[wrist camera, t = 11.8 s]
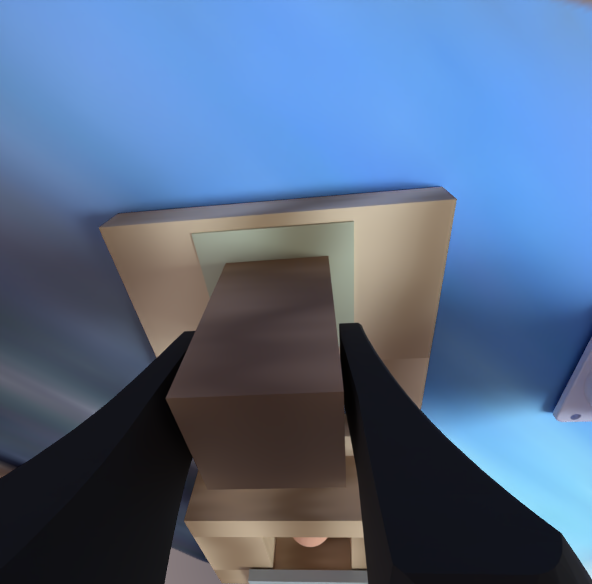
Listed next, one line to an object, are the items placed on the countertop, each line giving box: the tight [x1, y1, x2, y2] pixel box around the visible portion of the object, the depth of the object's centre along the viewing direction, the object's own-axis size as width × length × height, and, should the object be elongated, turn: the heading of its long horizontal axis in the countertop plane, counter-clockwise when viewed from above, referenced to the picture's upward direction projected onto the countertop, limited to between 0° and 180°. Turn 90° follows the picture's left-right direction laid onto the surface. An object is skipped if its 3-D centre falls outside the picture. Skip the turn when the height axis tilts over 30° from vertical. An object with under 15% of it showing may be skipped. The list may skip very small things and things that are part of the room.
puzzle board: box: [99, 187, 457, 584], centre depth 18 cm, size 13×25×5 cm, turn 6°
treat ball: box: [293, 537, 328, 547], centre depth 22 cm, size 3×3×3 cm
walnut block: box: [166, 256, 346, 490], centre depth 11 cm, size 4×4×6 cm
